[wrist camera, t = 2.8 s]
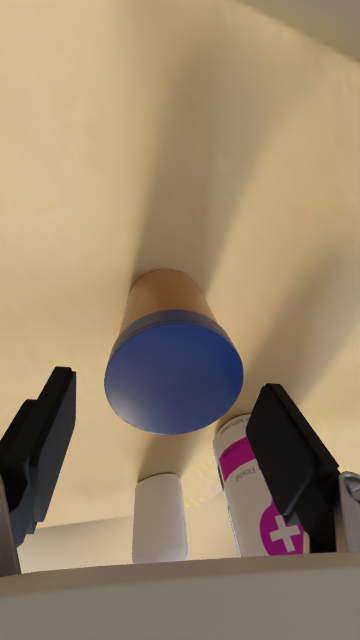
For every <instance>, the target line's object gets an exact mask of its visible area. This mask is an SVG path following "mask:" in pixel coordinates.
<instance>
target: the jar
mask: <svg viewBox="0 0 360 640" xmlns="http://www.w3.org/2000/svg"><path fill="white" fill-rule="evenodd" d="M171 309H180V310H188V311H193V312H197V313H200V314H203V315H205V316H207V317H209V318H210V319H212V320H213V321H215V322H216V323H217V321H216V319H215V317H214V315H213V313H212V312H211V310H210V308H209V306H208V304H207V302H206V300H205V298H204V297H203V295H202V293H201V291H200V289H199V287H198V286H197V284H196V283H195V282H194V281H193V280H192V279H191V278H190V277H189V276H187V275H186V274H184V273H182V272H180V271H177V270H173V269H159V270H155V271H151V272H149V273H147V274H145V275H144V276H142V277H141V278H140V279H139V280H138V281H137V282H136V283H135V284H134V286H133V287H132V289H131V291H130V293H129V296H128V300H127V304H126V308H125V312H124V316H123V320H122V324H121V328H120V332H119V336H120V334H121V333H122V332H123V331H124V330H125V329H126V328H127V327H128V326H129V325H131V324H132V323H133V322H135V321H136V320H138V319H140V318H141V317H144V316H146V315H148V314H151V313H154V312H157V311H163V310H171ZM119 336H118V337H119Z"/></svg>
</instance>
